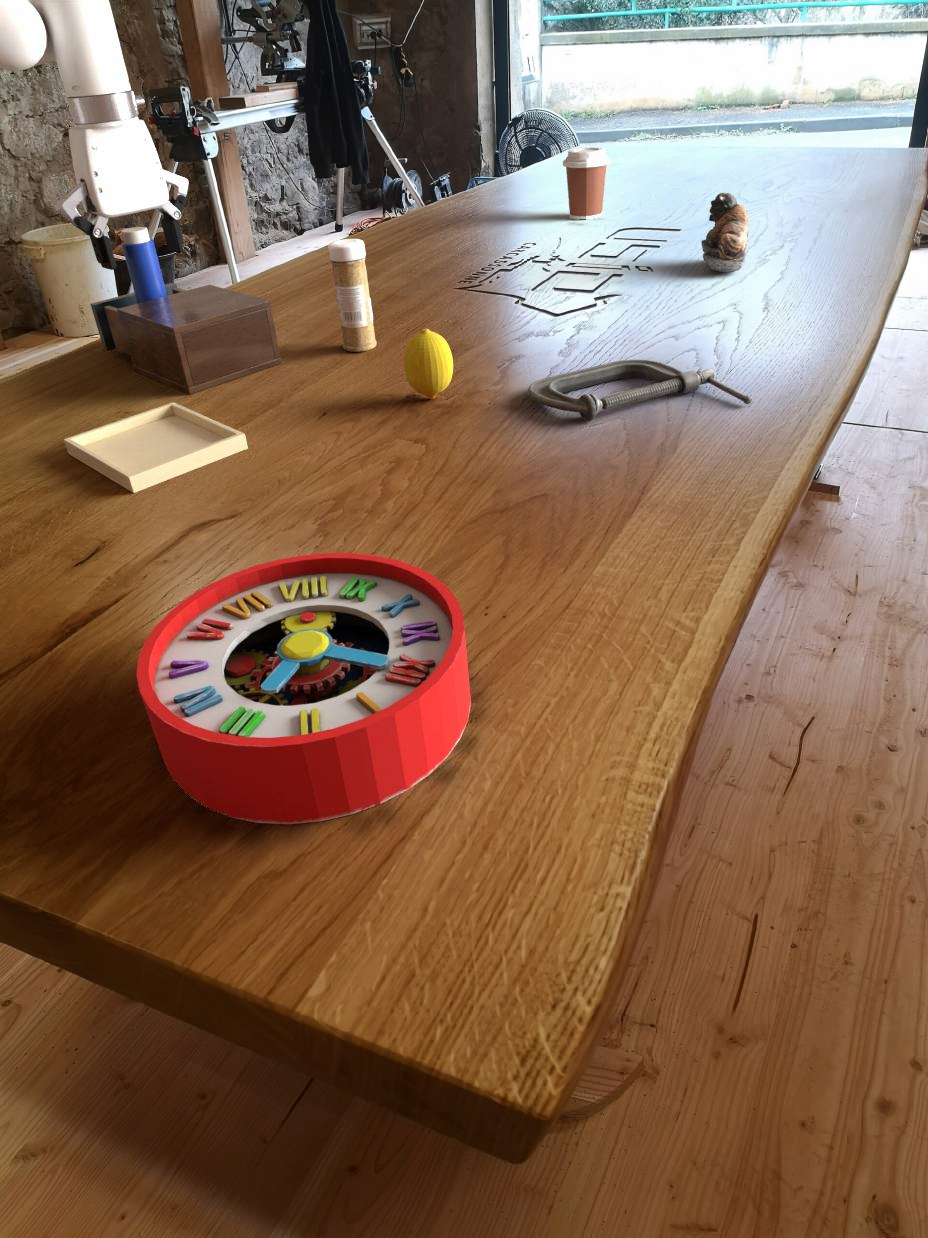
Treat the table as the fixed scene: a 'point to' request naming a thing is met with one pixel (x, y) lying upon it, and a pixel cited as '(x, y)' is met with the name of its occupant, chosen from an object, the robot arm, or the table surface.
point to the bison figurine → (726, 235)
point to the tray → (155, 446)
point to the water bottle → (143, 264)
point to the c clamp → (589, 405)
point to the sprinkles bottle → (352, 294)
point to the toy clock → (307, 686)
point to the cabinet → (200, 337)
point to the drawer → (117, 318)
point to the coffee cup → (586, 181)
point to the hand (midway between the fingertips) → (143, 259)
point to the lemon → (428, 363)
